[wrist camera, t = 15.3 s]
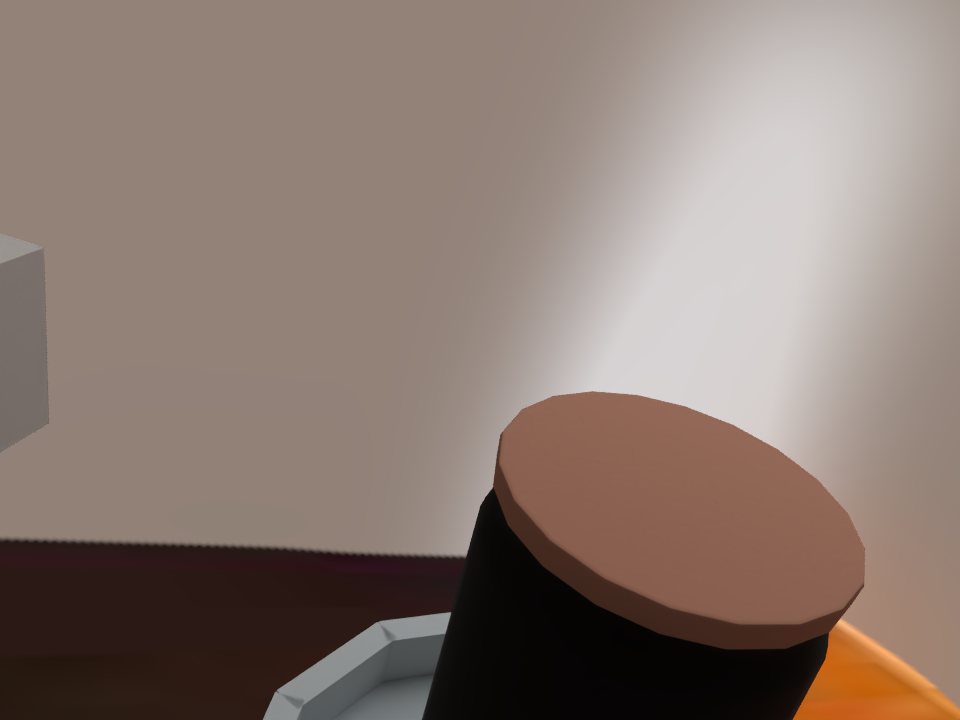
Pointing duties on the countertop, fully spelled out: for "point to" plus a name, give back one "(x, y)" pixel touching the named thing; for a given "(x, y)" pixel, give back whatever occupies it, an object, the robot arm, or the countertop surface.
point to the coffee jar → (643, 572)
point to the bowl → (369, 675)
